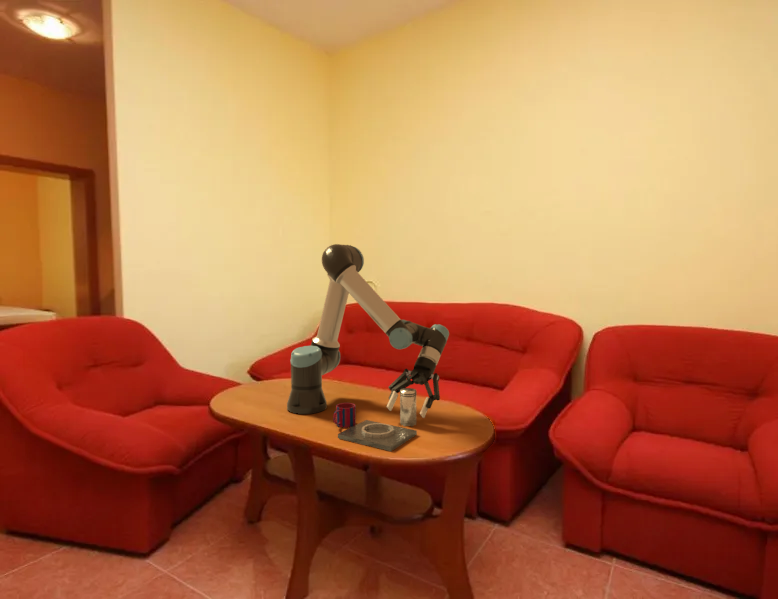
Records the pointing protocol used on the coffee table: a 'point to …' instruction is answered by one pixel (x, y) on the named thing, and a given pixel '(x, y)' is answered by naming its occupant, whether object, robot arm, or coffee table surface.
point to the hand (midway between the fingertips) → (404, 412)
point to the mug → (345, 415)
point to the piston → (408, 406)
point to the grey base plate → (377, 435)
